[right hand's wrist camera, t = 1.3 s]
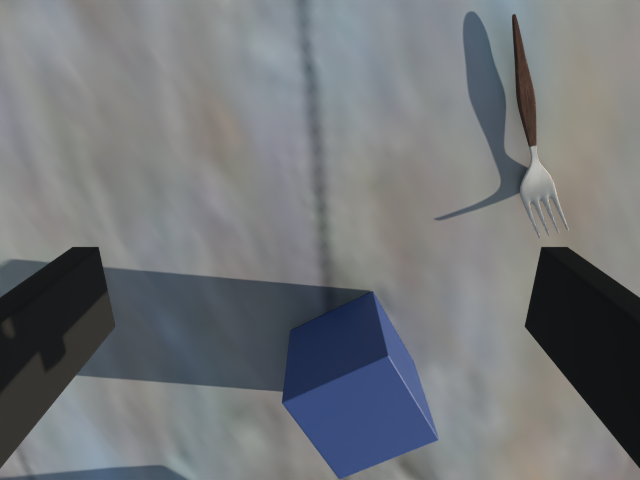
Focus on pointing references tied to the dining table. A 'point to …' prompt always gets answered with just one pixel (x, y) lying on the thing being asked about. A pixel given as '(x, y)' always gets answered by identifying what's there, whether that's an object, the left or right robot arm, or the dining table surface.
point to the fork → (532, 141)
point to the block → (355, 388)
